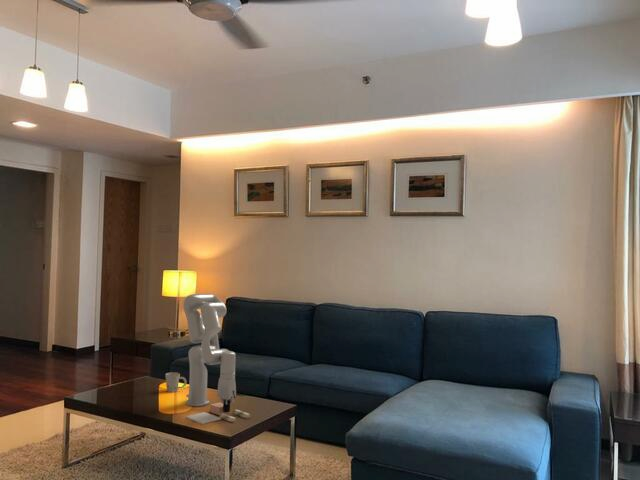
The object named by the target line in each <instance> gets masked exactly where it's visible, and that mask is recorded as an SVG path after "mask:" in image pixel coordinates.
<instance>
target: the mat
mask: <svg viewBox="0 0 640 480" xmlns="http://www.w3.org/2000/svg"><path fill="white" fill-rule="evenodd" d="M185 418H186V419H188V420H191V421H194V422H196V423H199V424H201V425H204V424H205V425H206V424H209V423H213V422H217V421H221V420H222V418H219V416H217V415H214V414H212V413H208V412H207V411H206V412H205V411H203V412H199V413H194V414H191V415H187V416H185Z"/></svg>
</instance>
